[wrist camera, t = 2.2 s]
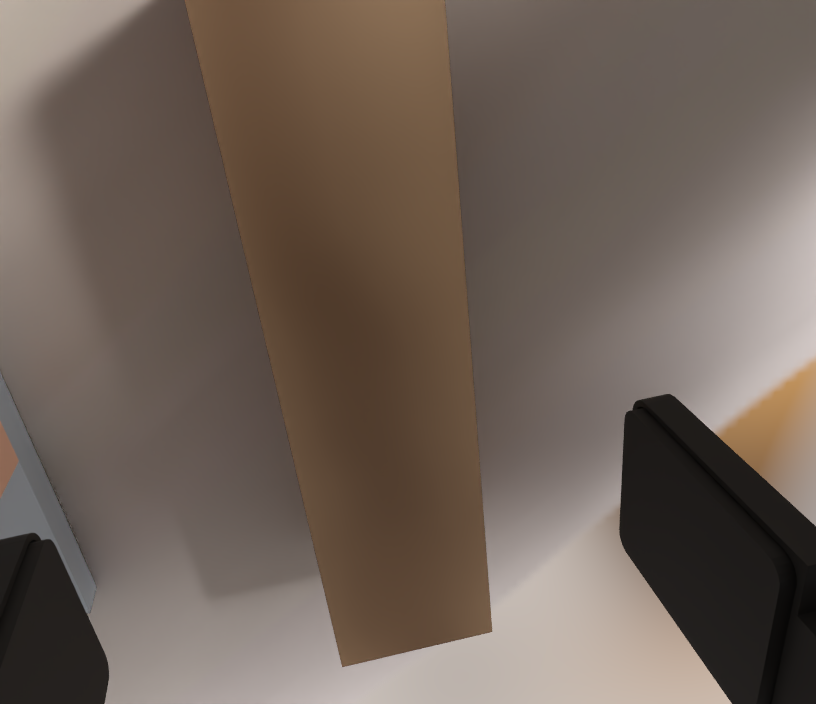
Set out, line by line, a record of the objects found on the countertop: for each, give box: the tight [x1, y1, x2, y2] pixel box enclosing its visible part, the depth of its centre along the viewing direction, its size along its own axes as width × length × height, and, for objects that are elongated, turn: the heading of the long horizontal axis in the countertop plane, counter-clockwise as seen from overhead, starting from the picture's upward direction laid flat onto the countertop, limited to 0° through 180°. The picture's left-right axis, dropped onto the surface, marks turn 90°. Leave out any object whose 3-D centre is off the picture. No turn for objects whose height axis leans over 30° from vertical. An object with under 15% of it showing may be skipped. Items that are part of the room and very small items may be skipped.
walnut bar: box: [185, 0, 492, 667], centre depth 17 cm, size 4×16×5 cm, turn 6°
